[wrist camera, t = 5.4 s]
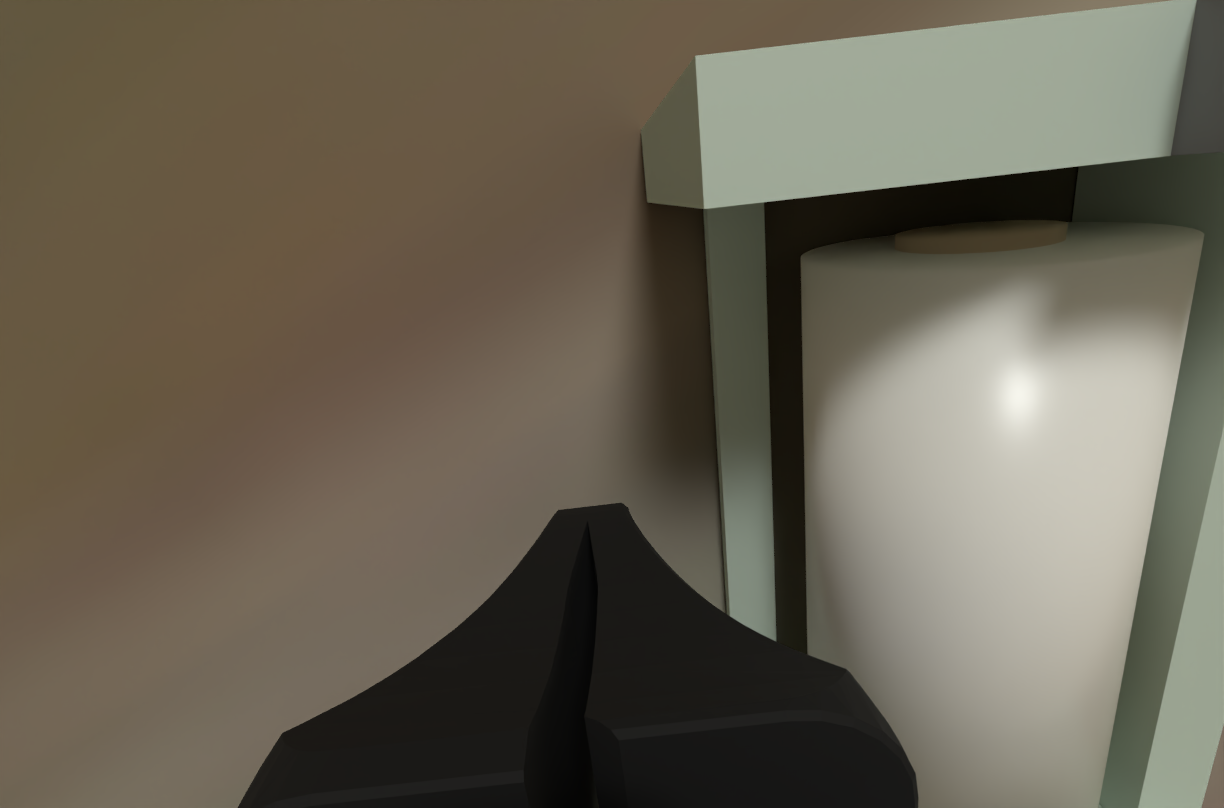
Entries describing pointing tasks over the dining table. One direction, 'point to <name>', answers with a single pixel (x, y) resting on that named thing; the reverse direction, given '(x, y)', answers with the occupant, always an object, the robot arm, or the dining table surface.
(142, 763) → the dining table surface
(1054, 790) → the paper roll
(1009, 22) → the roll cradle
